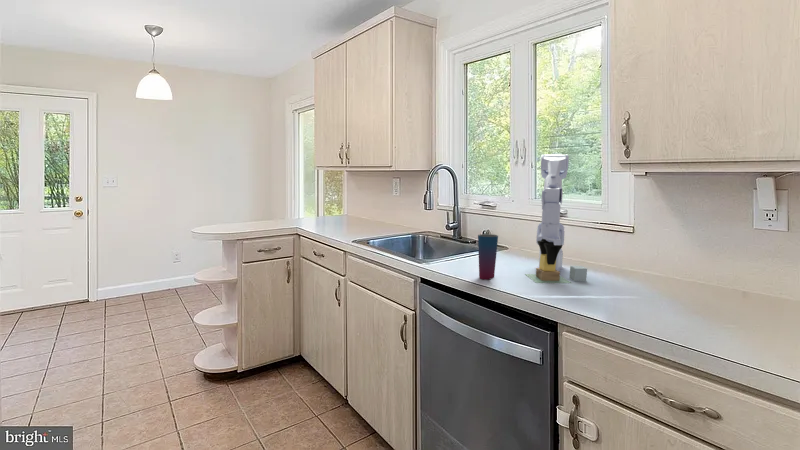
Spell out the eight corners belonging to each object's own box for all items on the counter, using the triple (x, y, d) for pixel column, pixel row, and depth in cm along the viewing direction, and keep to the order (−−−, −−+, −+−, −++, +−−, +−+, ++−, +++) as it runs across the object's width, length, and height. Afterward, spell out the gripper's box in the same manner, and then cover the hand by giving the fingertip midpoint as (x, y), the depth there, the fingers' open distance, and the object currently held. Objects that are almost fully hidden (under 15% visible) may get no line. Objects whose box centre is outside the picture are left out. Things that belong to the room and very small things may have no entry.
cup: (496, 281, 143) (498, 237, 141) (476, 279, 144) (477, 236, 143) (496, 276, 150) (498, 234, 148) (477, 275, 151) (478, 233, 149)
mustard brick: (539, 268, 147) (540, 254, 146) (550, 268, 147) (552, 254, 146) (543, 270, 143) (544, 256, 142) (555, 271, 143) (556, 256, 142)
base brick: (535, 276, 148) (536, 267, 148) (552, 276, 148) (553, 268, 148) (541, 280, 142) (542, 271, 142) (559, 280, 142) (560, 272, 142)
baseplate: (524, 275, 151) (524, 274, 151) (557, 276, 151) (558, 274, 151) (535, 284, 139) (535, 282, 139) (571, 284, 139) (572, 283, 139)
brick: (569, 280, 146) (570, 265, 145) (580, 280, 146) (581, 266, 146) (574, 283, 142) (575, 268, 141) (586, 283, 142) (587, 268, 142)
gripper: (531, 220, 150) (529, 258, 152) (546, 225, 136) (544, 267, 137) (551, 220, 150) (549, 258, 152) (568, 226, 136) (565, 267, 137)
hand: (548, 262), depth 145 cm, fingers open, 4 cm apart
